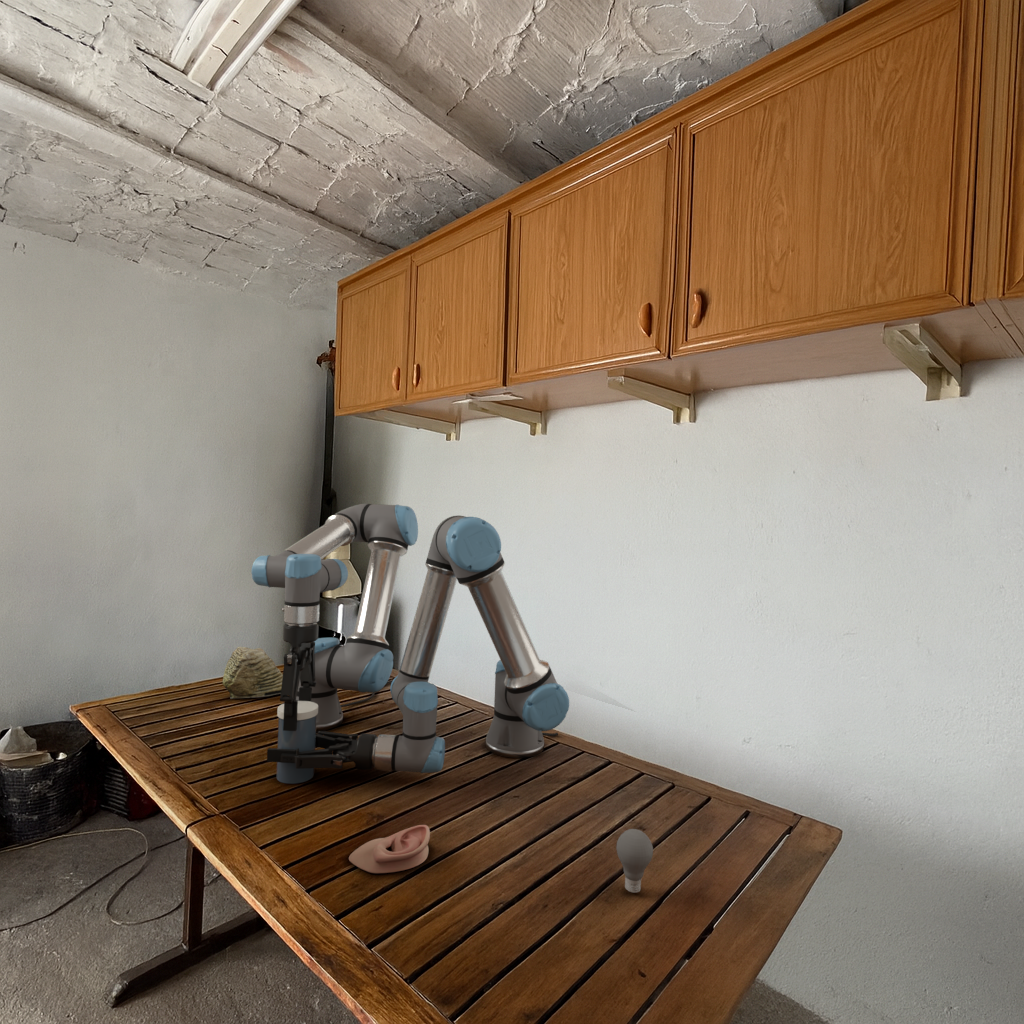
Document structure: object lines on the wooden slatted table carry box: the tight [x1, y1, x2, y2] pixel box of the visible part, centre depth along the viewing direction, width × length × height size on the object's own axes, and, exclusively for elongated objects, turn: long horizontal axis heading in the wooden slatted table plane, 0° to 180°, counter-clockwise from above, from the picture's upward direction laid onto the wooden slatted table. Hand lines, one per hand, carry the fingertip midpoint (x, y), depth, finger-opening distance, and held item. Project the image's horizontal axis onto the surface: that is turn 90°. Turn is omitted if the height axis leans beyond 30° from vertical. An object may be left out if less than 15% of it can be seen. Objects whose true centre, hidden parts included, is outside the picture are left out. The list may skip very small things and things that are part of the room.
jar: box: [275, 715, 317, 785], centre depth 143 cm, size 8×8×15 cm
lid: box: [276, 701, 318, 720], centre depth 143 cm, size 9×9×2 cm
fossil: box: [222, 646, 283, 699], centre depth 198 cm, size 9×18×15 cm, turn 132°
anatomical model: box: [348, 824, 431, 874], centre depth 113 cm, size 13×4×12 cm
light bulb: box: [615, 828, 654, 894], centre depth 106 cm, size 6×6×10 cm
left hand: (297, 722), depth 143 cm, fingers closed on lid, 9 cm apart
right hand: (275, 747), depth 143 cm, fingers closed on jar, 8 cm apart
